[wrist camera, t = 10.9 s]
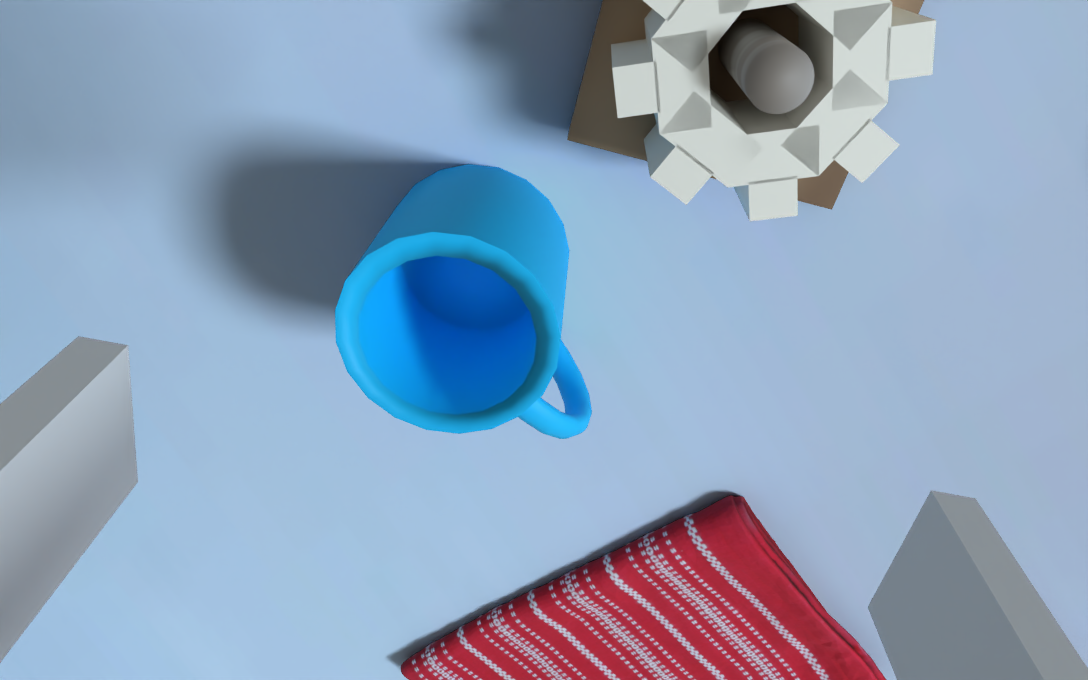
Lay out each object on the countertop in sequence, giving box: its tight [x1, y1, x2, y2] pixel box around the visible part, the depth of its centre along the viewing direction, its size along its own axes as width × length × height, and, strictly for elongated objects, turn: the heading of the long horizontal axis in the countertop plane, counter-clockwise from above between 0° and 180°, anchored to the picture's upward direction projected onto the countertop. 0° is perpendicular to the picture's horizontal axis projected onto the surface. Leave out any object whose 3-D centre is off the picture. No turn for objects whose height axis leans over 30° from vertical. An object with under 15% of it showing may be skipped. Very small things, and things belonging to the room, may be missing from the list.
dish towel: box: [401, 495, 886, 680], centre depth 47 cm, size 17×24×3 cm
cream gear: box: [611, 0, 936, 221], centre depth 27 cm, size 10×10×5 cm
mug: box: [335, 164, 592, 439], centre depth 33 cm, size 12×8×8 cm
